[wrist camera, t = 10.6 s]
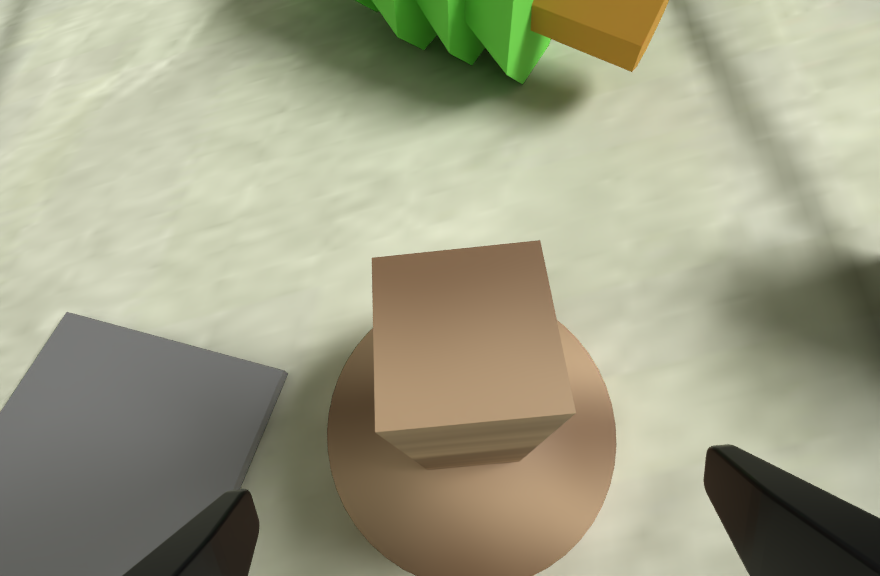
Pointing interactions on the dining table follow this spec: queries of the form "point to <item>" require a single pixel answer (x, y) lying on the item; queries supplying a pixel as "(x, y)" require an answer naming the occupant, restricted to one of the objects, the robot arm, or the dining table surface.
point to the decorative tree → (526, 28)
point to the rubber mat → (121, 446)
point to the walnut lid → (470, 417)
